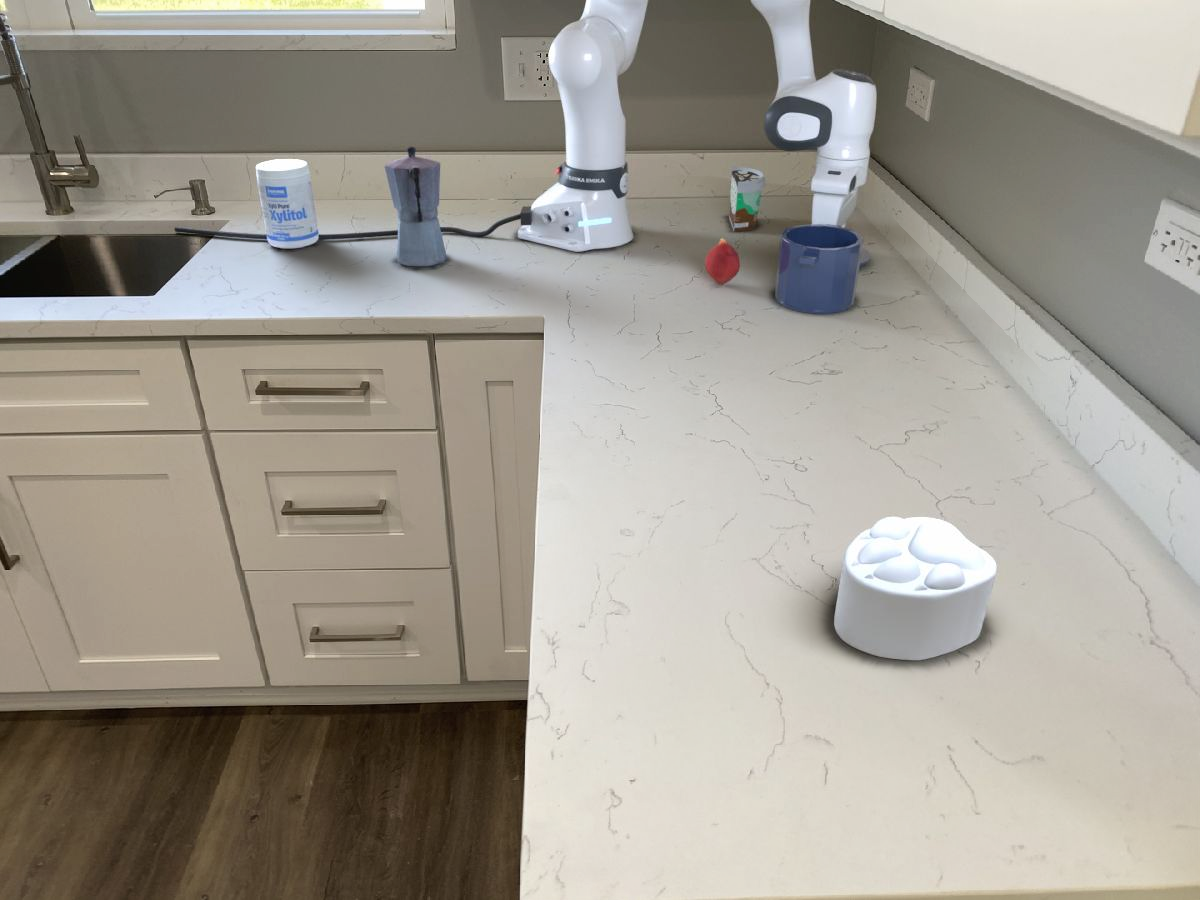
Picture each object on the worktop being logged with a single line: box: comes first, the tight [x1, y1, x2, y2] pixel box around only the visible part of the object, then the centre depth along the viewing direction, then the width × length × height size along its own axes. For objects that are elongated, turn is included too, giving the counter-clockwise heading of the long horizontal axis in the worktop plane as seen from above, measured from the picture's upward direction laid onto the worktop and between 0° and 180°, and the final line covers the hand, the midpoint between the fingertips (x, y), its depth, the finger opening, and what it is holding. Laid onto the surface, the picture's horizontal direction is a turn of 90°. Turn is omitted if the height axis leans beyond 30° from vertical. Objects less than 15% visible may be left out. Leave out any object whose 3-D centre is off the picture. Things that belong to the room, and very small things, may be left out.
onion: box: [704, 237, 741, 286], centre depth 155 cm, size 6×6×8 cm
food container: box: [728, 166, 767, 232], centre depth 183 cm, size 12×6×10 cm, turn 179°
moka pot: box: [384, 146, 447, 267], centre depth 163 cm, size 10×15×20 cm, turn 18°
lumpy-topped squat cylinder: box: [833, 516, 998, 661], centre depth 82 cm, size 10×13×9 cm
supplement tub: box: [255, 158, 320, 250], centre depth 174 cm, size 10×10×15 cm
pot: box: [774, 223, 864, 315], centre depth 149 cm, size 13×18×10 cm
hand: (831, 248), depth 167 cm, fingers open, 6 cm apart
